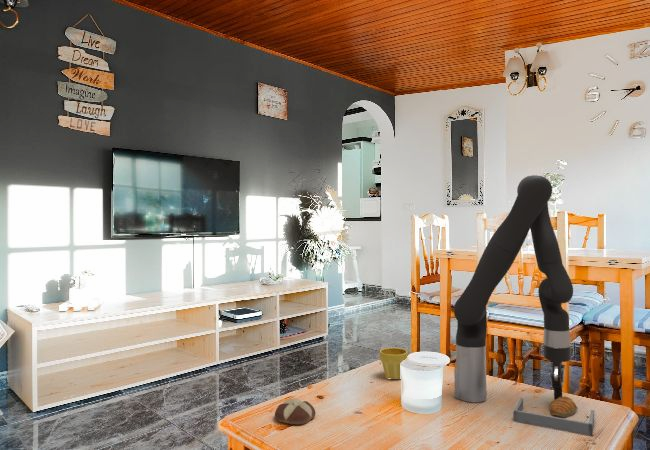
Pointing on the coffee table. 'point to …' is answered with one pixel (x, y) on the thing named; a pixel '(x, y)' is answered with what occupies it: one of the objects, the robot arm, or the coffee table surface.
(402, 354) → the plant pot
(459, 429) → the coffee table surface
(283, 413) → the bread
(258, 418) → the coffee table surface
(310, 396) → the coffee table surface
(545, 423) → the box
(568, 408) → the pastry
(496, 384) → the coffee table surface
